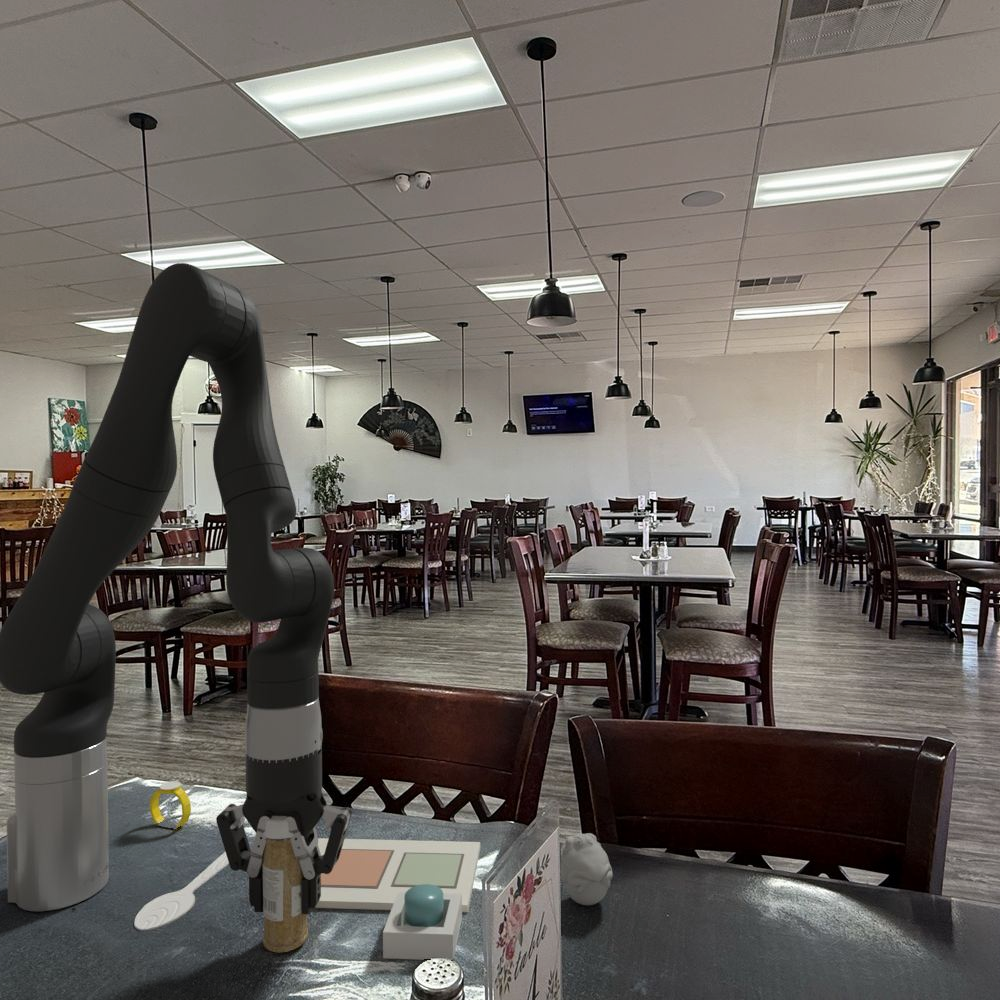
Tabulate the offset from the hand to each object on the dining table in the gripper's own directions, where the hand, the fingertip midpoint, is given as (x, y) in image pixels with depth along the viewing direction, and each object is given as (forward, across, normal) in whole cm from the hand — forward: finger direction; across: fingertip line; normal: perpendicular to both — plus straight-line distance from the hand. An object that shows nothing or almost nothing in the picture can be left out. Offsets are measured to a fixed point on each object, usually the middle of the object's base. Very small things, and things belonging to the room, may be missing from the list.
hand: (285, 908), depth 72 cm
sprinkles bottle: (+4, 0, 0) cm, 4 cm away
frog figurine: (+4, +31, +9) cm, 33 cm away
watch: (+4, -26, +24) cm, 36 cm away
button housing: (+3, +14, +2) cm, 15 cm away
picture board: (+3, +7, +13) cm, 15 cm away
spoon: (+4, -15, +10) cm, 18 cm away
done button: (+1, +14, +2) cm, 14 cm away
